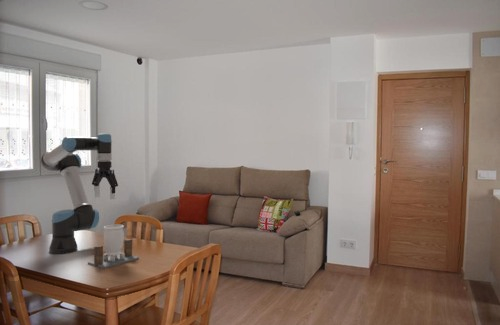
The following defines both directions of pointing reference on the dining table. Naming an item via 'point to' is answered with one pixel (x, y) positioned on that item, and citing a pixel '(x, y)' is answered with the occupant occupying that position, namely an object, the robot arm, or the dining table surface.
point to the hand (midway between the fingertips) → (104, 198)
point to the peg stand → (114, 260)
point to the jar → (113, 239)
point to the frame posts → (99, 252)
